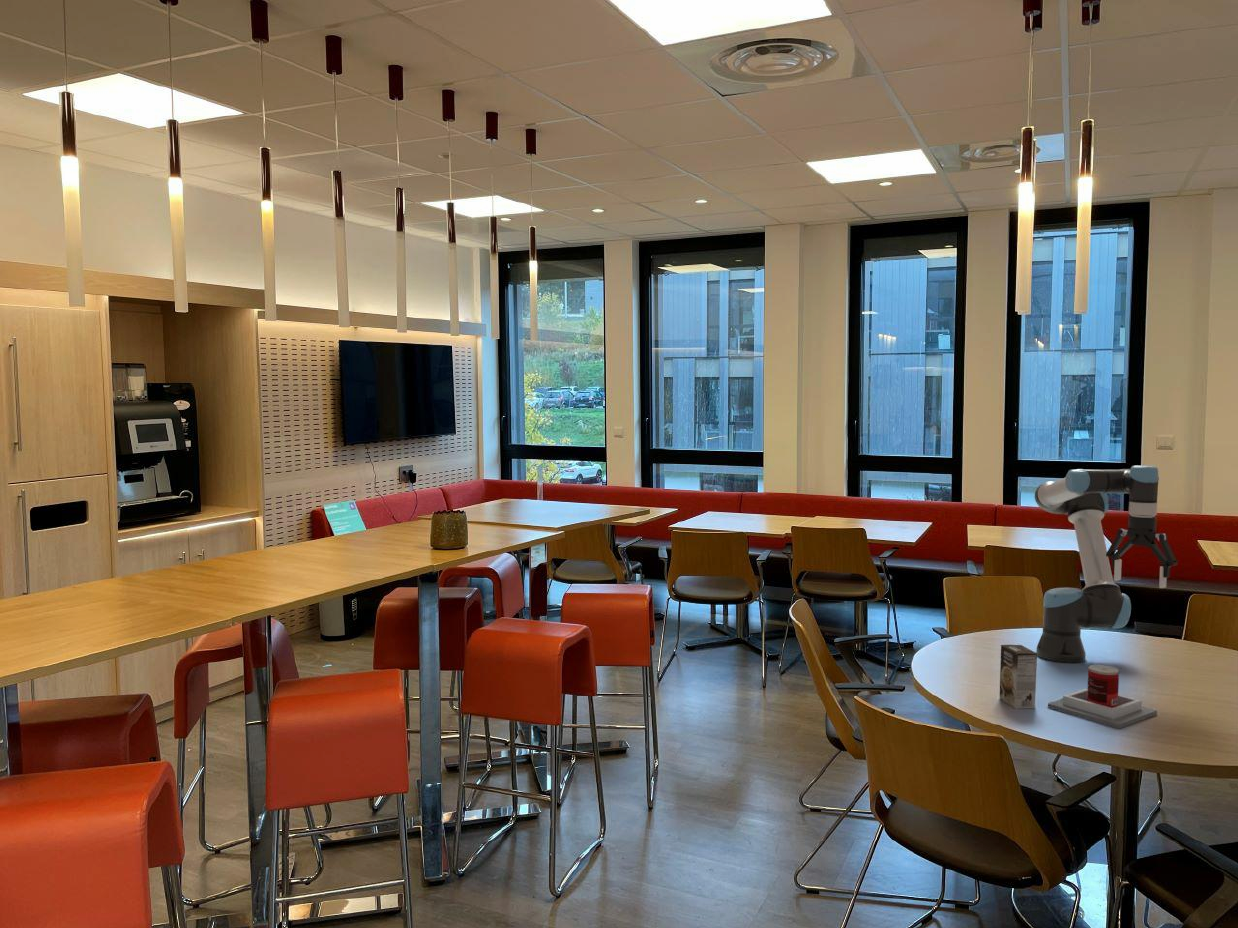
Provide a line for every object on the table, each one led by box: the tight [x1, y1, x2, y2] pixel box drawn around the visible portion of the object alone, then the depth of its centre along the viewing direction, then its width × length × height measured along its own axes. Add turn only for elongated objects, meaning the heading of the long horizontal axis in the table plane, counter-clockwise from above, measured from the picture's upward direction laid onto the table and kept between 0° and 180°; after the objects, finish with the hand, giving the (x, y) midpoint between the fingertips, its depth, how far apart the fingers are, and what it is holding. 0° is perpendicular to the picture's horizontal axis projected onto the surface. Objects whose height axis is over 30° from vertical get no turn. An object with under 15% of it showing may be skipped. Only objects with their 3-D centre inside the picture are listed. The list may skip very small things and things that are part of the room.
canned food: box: [1087, 664, 1120, 708], centre depth 254 cm, size 8×8×11 cm
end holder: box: [1047, 687, 1158, 730], centre depth 254 cm, size 20×20×4 cm
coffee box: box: [999, 644, 1038, 709], centre depth 260 cm, size 9×6×16 cm
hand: (1139, 583), depth 280 cm, fingers open, 13 cm apart
